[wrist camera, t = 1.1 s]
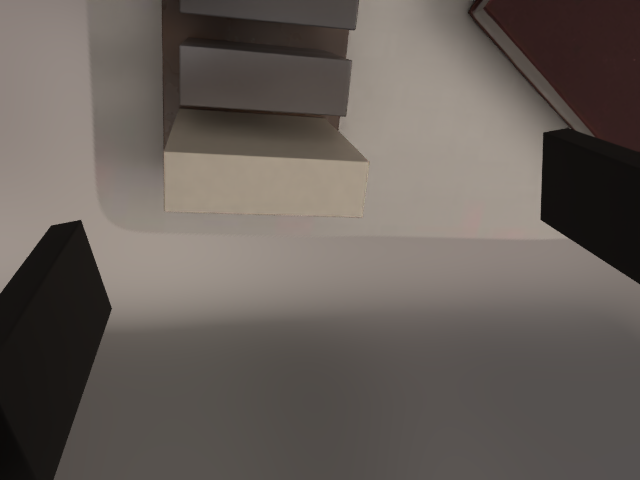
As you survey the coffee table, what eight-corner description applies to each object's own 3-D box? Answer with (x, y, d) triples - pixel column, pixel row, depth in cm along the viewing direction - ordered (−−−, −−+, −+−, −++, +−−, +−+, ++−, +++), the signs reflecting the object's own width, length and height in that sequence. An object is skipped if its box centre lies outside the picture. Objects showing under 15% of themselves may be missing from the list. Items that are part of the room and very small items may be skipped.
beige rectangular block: (178, 108, 36) (163, 151, 25) (325, 118, 38) (370, 162, 27) (178, 152, 37) (164, 212, 26) (321, 159, 39) (362, 217, 28)
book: (595, -148, 35) (629, -162, 33) (730, 54, 43) (768, 58, 40) (461, 9, 38) (482, 9, 35) (610, 175, 45) (638, 187, 42)
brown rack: (161, -157, 31) (142, -214, 23) (362, -125, 34) (409, -167, 26) (165, 165, 38) (151, 207, 30) (330, 172, 41) (359, 213, 33)
